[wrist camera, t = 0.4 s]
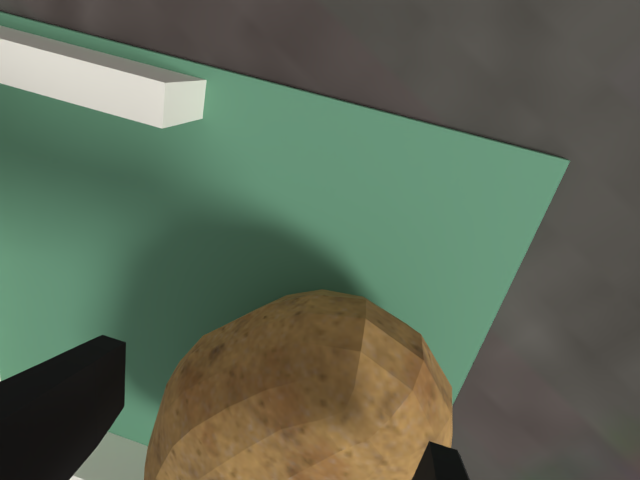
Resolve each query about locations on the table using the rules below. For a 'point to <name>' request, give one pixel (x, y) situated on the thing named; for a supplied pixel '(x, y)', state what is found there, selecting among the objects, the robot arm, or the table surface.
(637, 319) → the table surface
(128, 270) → the green mat
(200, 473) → the potato
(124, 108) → the white angular frame
